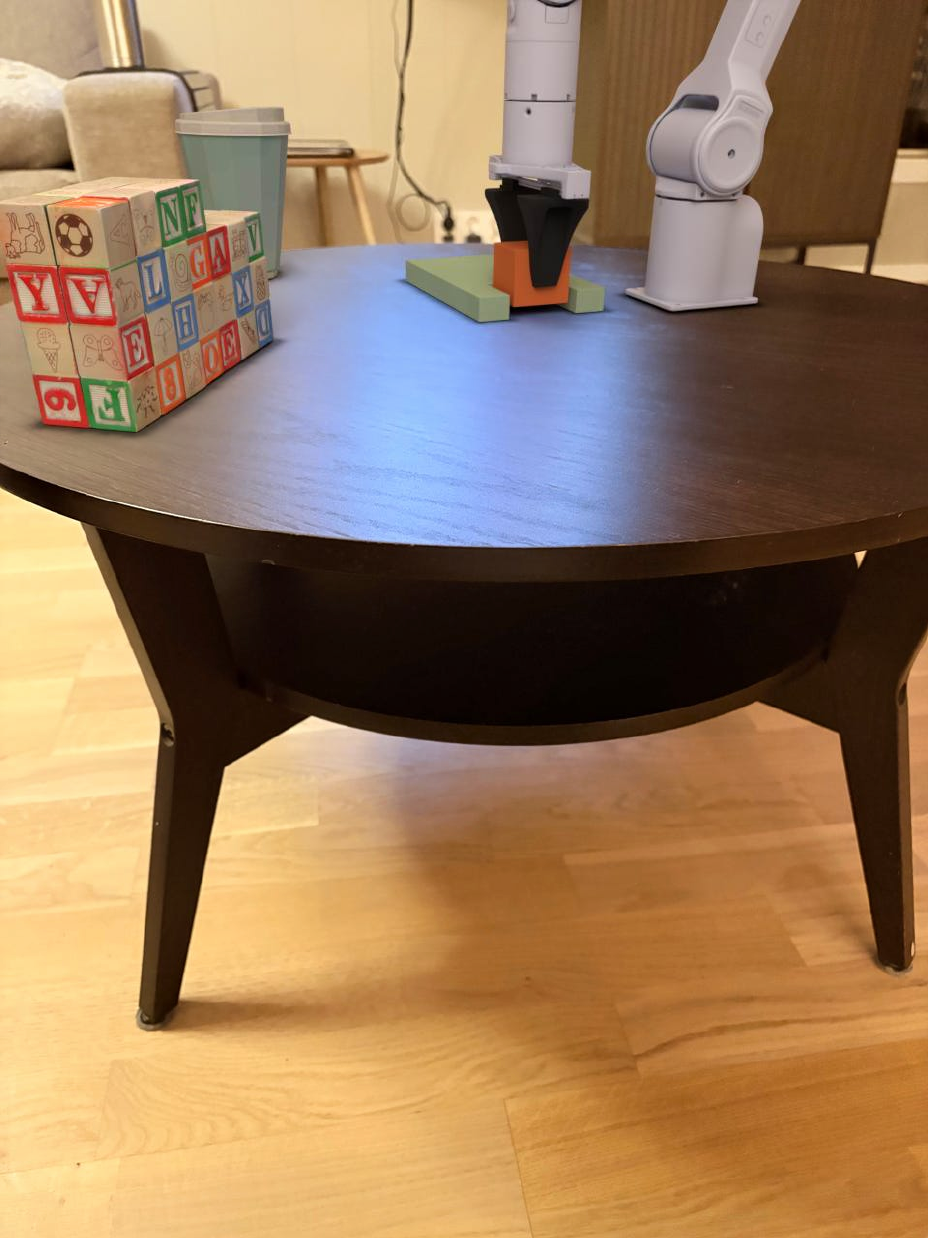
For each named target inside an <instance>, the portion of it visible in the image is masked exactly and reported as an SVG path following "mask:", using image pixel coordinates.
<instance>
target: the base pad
mask: <svg viewBox="0 0 928 1238" xmlns="http://www.w3.org/2000/svg"><path fill="white" fill-rule="evenodd" d="M493 263H494V253H492V254H478V255H461V256H448V257H445V256H444V257H430V258H417V259H406V260H405V282H407V283H408V284H411V285H412V286H413V287H416V288H418V289H419V290H421V291H423V292H424V293H427V294H428V295H429V296H432V297H433V298H435V299H437V300H439V301H440V302H442V303H444V304H446V305H448V306H450V307H451V308H453V309H454V310H457V311H458V312H461V313H462V314H464V315H465V316H467V317H469V318H470V319H473V320H474V321H476V322H478V323H487V322H498V321H509V320H510V307H511V305H510V295H508V294H506V293H504V292H502V291H500V290H497V289H495V288H493ZM605 297H606V287H605V286H602V285H599V284H598V283H594V282H592V281H589V280H587V279H585V278H582V277H580V276H577V275H575V274H571V273H570V277H569V292H568V303H558V304H555V305H556V306H559V307H561V308H563V309H565V310H567V311H570V312H572V313H573V314H586V313H597V312H604V308H605Z"/></svg>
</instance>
